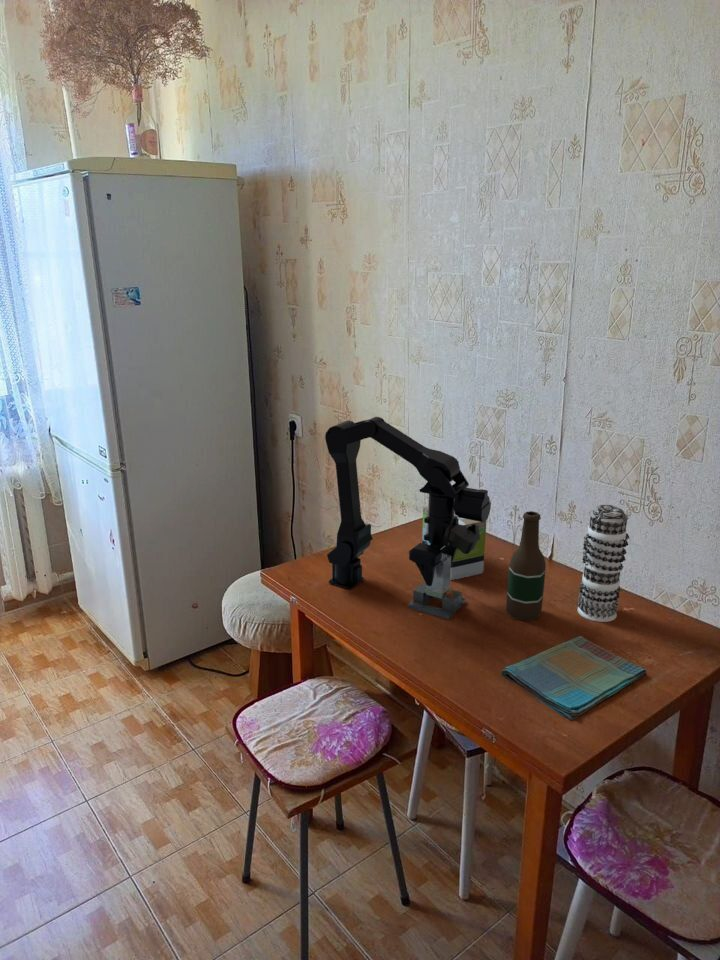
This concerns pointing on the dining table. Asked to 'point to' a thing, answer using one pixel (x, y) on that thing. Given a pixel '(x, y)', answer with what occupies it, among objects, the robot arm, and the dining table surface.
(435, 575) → the grey rectangular block
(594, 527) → the decorative candle
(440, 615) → the grey square frame
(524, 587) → the beer bottle
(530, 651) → the dining table surface
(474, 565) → the tea box
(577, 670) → the dish towel
